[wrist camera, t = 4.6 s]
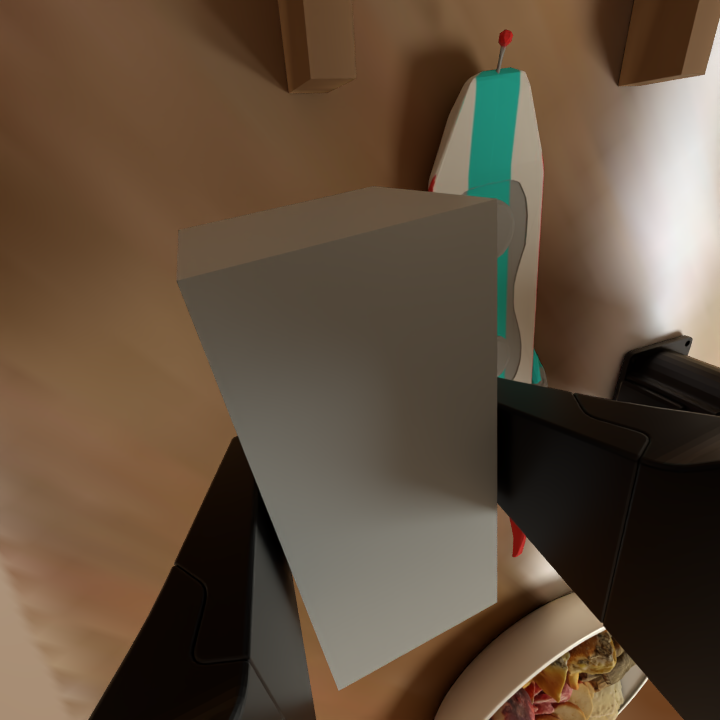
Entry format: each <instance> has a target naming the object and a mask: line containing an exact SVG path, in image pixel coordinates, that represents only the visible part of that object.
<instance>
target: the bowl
mask: <svg viewBox="0 0 720 720" xmlns="http://www.w3.org/2000/svg"><path fill="white" fill-rule="evenodd" d="M647 680H648V678H647V676H646V675H645V674H644V673H643V672H642V671H641V669H640V668H639V667H638V666H637V665H636V664H635V662H634V661H633V660H632V659H631V658H630V657H629V655H628V654H627V653H626V652H625V651H624V650H623V649H622V647H621V646H620V645H619V644H618V643H617V642H616V640H615V639H614V638H613V637H612V636H611V635H610V633H609V632H608V631H607V630H606V629H605V628H604V626H603V623H601V622H600V621H599V620H598V619H597V618H596V617H595V616H594V614H593V613H592V612H591V611H590V610H589V609H588V608H587V606H586V605H585V604H584V603H583V602H582V601H581V599H580V598H579V597H578V596H577V595H576V594H575V592H574V593H571V594H568V595H566V596H563V597H561V598H558V599H556V600H554V601H552V602H549V603H547V604H546V605H544V606H542V607H540V608H538V609H536V610H535V611H533V612H531V613H530V614H528V615H527V616H525V617H524V618H522V619H521V620H519V621H518V622H516V623H515V624H514V625H512V626H511V627H510V628H508V629H507V630H506V631H504V632H503V633H502V634H501V635H499V636H498V637H497V638H496V639H495V640H494V641H492V642H491V643H490V644H489V645H488V646H487V647H486V648H485V649H484V650H483V651H482V652H481V653H480V654H479V655H478V656H477V657H476V658H475V659H474V660H473V661H472V662H471V663H470V664H469V665H468V666H467V668H466V669H465V670H464V671H463V672H462V674H461V675H460V676H459V677H458V679H457V680H456V681H455V683H454V684H453V686H452V687H451V688H450V690H449V691H448V693H447V695H446V696H445V698H444V700H443V702H442V703H441V705H440V707H439V709H438V711H437V714H436V716H435V719H434V720H615V719H616V717H617V716H618V714H619V713H620V712H621V711H622V710H623V709H624V708H625V706H627V704H628V703H629V702H630V701H631V700H632V699H633V698H634V696H635V695H636V694H637V693H638V691H639V690H640V689H641V688H642V686H643V685H644V684H645V682H646V681H647Z"/></svg>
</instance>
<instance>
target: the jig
mask: <svg viewBox="0 0 720 720" xmlns="http://www.w3.org/2000/svg"><path fill="white" fill-rule="evenodd" d="M278 8H279V16H280V24H281V33H282V41H283V49H284V58H285V66H286V74H287V83H288V91H289V94H290V93H328V92H330V91H332V90H334V89H336V88H338V87H340V86H342V85H344V84H346V83H348V82H350V81H352V80H354V79H356V61H355V43H354V25H353V7H352V0H278ZM719 18H720V0H634V4H633V10H632V15H631V20H630V26H629V31H628V36H627V42H626V47H625V52H624V58H623V63H622V68H621V74H620V79H619V84H618V86H642V85H647V84H653V83H659V82H665V81H670V80H676V79H682V78H688V77H693V76H699V75H705V71H706V68H707V64H708V60H709V56H710V52H711V49H712V45H713V41H714V37H715V34H716V30H717V26H718V22H719Z"/></svg>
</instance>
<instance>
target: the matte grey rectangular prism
mask: <svg viewBox="0 0 720 720" xmlns="http://www.w3.org/2000/svg"><path fill="white" fill-rule="evenodd" d="M177 283H178V286H179V288H180V291H181V293H182V296H183V298H184V301H185V303H186V306H187V308H188V311H189V313H190V316H191V318H192V321H193V323H194V326H195V329H196V331H197V334H198V336H199V339H200V341H201V344H202V346H203V349H204V351H205V354H206V356H207V359H208V361H209V364H210V366H211V369H212V371H213V374H214V377H215V379H216V382H217V384H218V387H219V389H220V392H221V394H222V397H223V399H224V402H225V404H226V407H227V409H228V412H229V414H230V417H231V420H232V422H233V425H234V427H235V430H236V432H237V435H238V437H239V440H240V442H241V445H242V447H243V450H244V452H245V455H246V457H247V460H248V463H249V465H250V468H251V470H252V473H253V475H254V478H255V480H256V483H257V485H258V488H259V490H260V493H261V495H262V498H263V500H264V503H265V506H266V508H267V511H268V513H269V516H270V518H271V521H272V523H273V526H274V528H275V531H276V533H277V536H278V538H279V541H280V543H281V546H282V549H283V551H284V554H285V556H286V559H287V561H288V564H289V566H290V569H291V571H292V574H293V576H294V579H295V581H296V584H297V586H298V589H299V591H300V594H301V597H302V599H303V602H304V604H305V607H306V609H307V612H308V614H309V617H310V619H311V622H312V624H313V627H314V629H315V632H316V634H317V637H318V640H319V642H320V645H321V647H322V650H323V652H324V655H325V657H326V660H327V662H328V665H329V667H330V670H331V672H332V675H333V677H334V680H335V683H336V685H337V688H338V690H341V689H343V688H344V687H346V686H348V685H350V684H352V683H353V682H355V681H357V680H359V679H361V678H362V677H364V676H366V675H368V674H370V673H371V672H373V671H375V670H377V669H378V668H380V667H382V666H384V665H386V664H387V663H389V662H391V661H393V660H395V659H396V658H398V657H400V656H402V655H404V654H405V653H407V652H409V651H411V650H413V649H414V648H416V647H418V646H420V645H421V644H423V643H425V642H427V641H429V640H430V639H432V638H434V637H436V636H438V635H439V634H441V633H443V632H445V631H447V630H448V629H450V628H452V627H454V626H455V625H457V624H459V623H461V622H463V621H464V620H466V619H468V618H470V617H472V616H473V615H475V614H477V613H479V612H481V611H482V610H484V609H486V608H488V607H489V606H491V605H493V604H495V603H497V199H495V198H486V197H476V196H466V195H456V194H446V193H436V192H426V191H417V190H407V189H397V188H387V187H377V186H372V187H368V188H363V189H359V190H354V191H350V192H345V193H341V194H337V195H332V196H328V197H323V198H319V199H314V200H310V201H305V202H301V203H297V204H292V205H288V206H283V207H279V208H274V209H270V210H266V211H261V212H257V213H252V214H248V215H243V216H239V217H234V218H230V219H226V220H221V221H217V222H212V223H208V224H203V225H199V226H195V227H190V228H186V229H181V230H179V234H178V258H177Z"/></svg>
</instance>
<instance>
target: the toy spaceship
mask: <svg viewBox="0 0 720 720" xmlns="http://www.w3.org/2000/svg"><path fill="white" fill-rule="evenodd" d="M512 37H513V34H512V32H511V31H509V30H504V31H503V32H501V33H500V35H499V44H500V45H501V49H500V55H499V61H498V65H497V69H496V70H489V71H482V72H480V73H478V74H476V75H474V76H472V77H470V78H469V79H468V80H467V81H466V83H465V84H464V85H463V87H462V89H461V91H460V94H459V96H458V98H457V100H456V102H455V104H454V106H453V108H452V110H451V112H450V114H449V117H448V120H447V123H446V126H445V130H444V133H443V136H442V139H441V143H440V146H439V149H438V153H437V156H436V159H435V162H434V166H433V169H432V172H431V175H430V179H429V185H428V192H436V193H446V194H456V195H466V196H476V197H486V198H495V199H497V377H499V378H504V379H509V380H514V381H519V382H524V383H529V384H534V385H538V386H543V387H548V383H547V377H546V373H545V371H544V368H543V366H542V364H541V363H540V361H539V358H538V354H537V355H536V352H535V350H534V333H535V317H536V301H537V284H538V267H539V251H540V234H541V217H542V201H543V184H544V162H543V155H542V149H541V144H540V138H539V132H538V127H537V121H536V115H535V109H534V104H533V98H532V92H531V87H530V84H529V81H528V78H527V75H526V73H525V72H524V71H521V70H518V69H514V68H511V67H510V68H503V69H500V67H501V63H502V58H503V55H504V52H505V49H506V46H507V45H508V44H509V43H510V42H511V41H512ZM510 522H511V527H512V532H513V555H512V557H517V556H518V555H520V554H521V553H522V551H523V547H524V544H525V539H526V536H525V534H524V533H523V532H522V531H521V530H520V529H519V528H518V526H517V525H516V524H515V523H514V522H513V521H512V519H511V518H510Z"/></svg>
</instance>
